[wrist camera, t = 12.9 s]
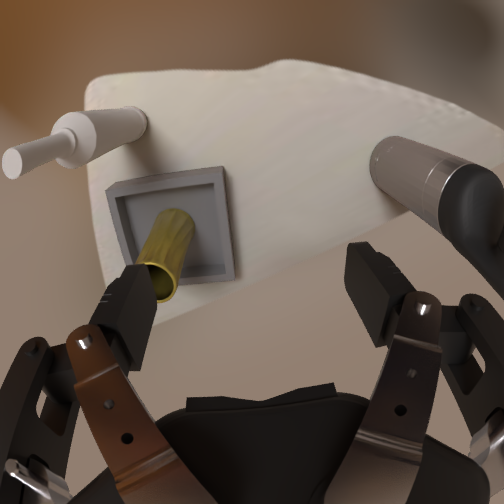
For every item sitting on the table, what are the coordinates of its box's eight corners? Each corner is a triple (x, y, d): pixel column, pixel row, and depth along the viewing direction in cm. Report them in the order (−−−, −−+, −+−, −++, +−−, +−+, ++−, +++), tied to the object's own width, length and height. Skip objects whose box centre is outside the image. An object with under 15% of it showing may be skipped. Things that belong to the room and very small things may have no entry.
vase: (182, 252, 43) (166, 315, 31) (147, 233, 41) (117, 290, 29) (202, 221, 41) (191, 276, 29) (165, 200, 39) (137, 248, 27)
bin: (223, 165, 39) (222, 172, 35) (234, 265, 46) (235, 280, 43) (115, 182, 38) (105, 190, 35) (140, 274, 46) (133, 288, 43)
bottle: (116, 144, 36) (-3, 206, 14) (112, 109, 33) (-16, 135, 11) (150, 139, 36) (47, 196, 14) (147, 103, 33) (34, 113, 11)
